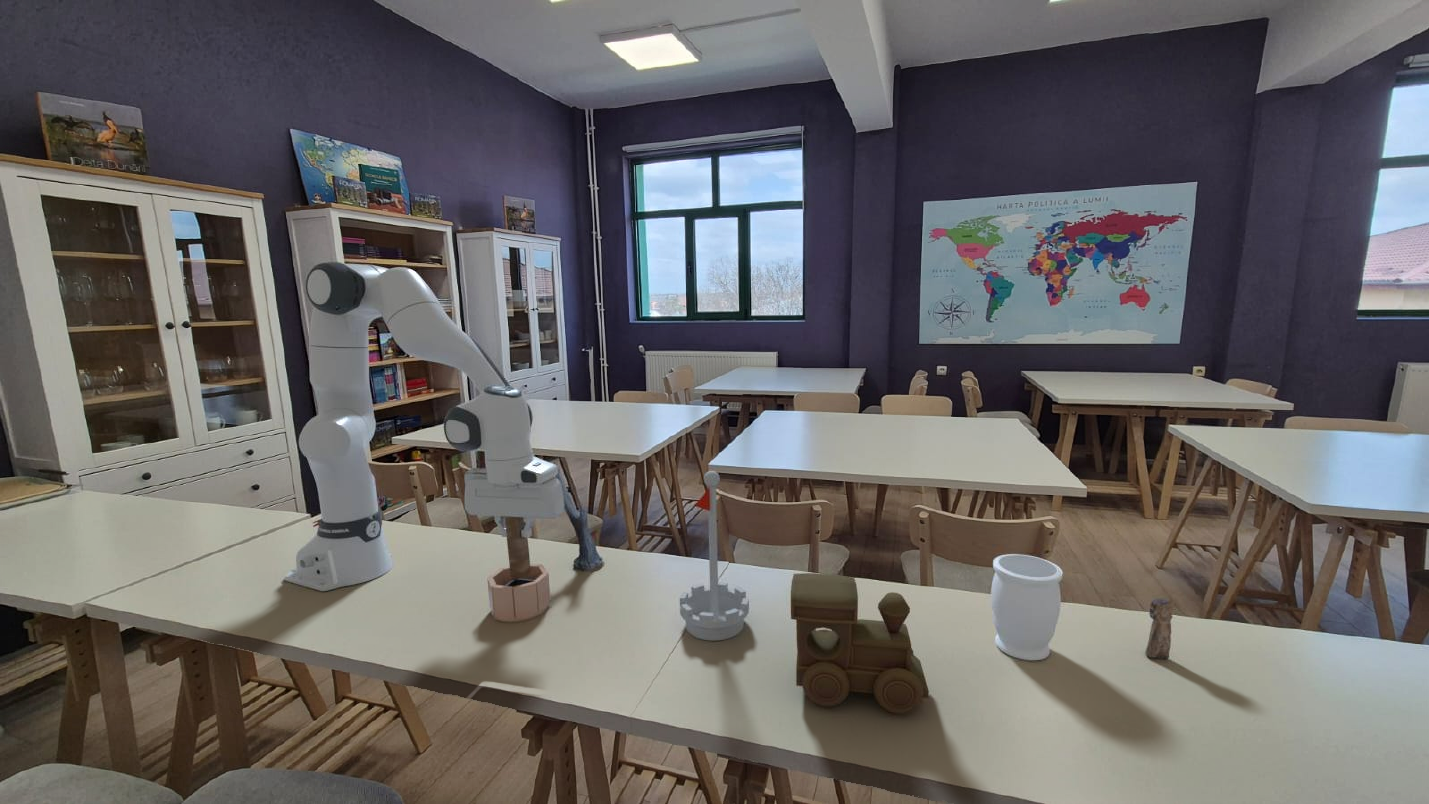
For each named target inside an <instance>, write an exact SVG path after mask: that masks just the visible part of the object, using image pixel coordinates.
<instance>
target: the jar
mask: <svg viewBox="0 0 1429 804" xmlns="http://www.w3.org/2000/svg"><path fill="white" fill-rule="evenodd" d="M992 566H993V567H992V568H993V570H994V571H995V573H994V575H993V578H992V583H991V590H990V602H991V604H990V605H991V609H992V610H991V611H992V618H993V619H992V620H993V625H994V628H995V630H996V633H997V634H996V635H995V638H994V643H995V645H996V647H997V648H998V649H999V650H1001V652H1003V653H1004V654H1007V655H1008V656H1011V657H1013V658H1017V659H1019V660H1024V661H1041V660H1044V659H1046V658H1048V657H1049V655H1050V653H1051V650H1050V647H1049V644H1050V642H1051V641H1052V639H1053V637H1054V634H1055V631H1056V627H1057V625H1058V621H1059V617H1060V612H1061V607H1062V606H1061V604H1062V601H1061V599H1062V598H1061V597H1062V596H1061V594H1062V593H1061V587H1060V581H1062V579H1063V570H1062V569H1061V568H1060V567H1059V565H1057V564H1055V563H1054V562H1051V561H1049V560H1046V559H1045V558H1041V557H1039V556H1033V555H1029V554H1021V553H1020V554H1019V553H1010V554H1009V553H1006V554H1002V555H998V556H996V557H995V558H994V559H993V560H992Z"/></svg>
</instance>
